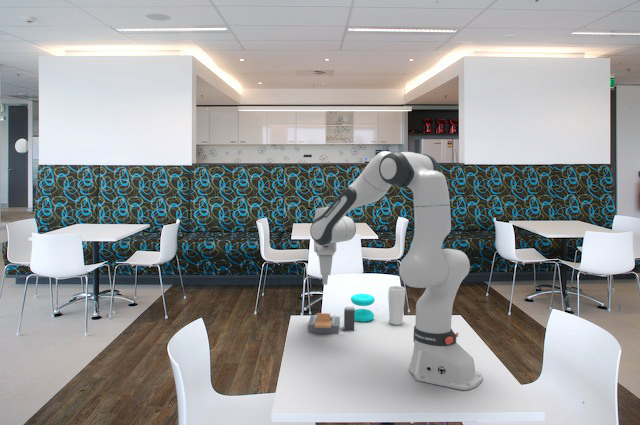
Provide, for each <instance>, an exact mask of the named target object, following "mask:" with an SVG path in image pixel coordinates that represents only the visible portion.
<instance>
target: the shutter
mask: <svg viewBox="0 0 640 425" xmlns="http://www.w3.org/2000/svg"><path fill="white" fill-rule="evenodd" d="M316 314H317V320H316V322H315V328H331V324H332V321H330V316H331V313H323V312H317V313H316Z"/></svg>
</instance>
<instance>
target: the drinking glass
mask: <svg viewBox="0 0 640 425" xmlns="http://www.w3.org/2000/svg"><path fill="white" fill-rule="evenodd" d="M387 296H388V312H389V315H388V316H389V324H391V325H393V324H394V326H400V325H402V324H403V319H404V318H403V317H404V310H405V299H406V288H405V287H404V286H402V285H401V286H400V285H392V286H389V287H388V294H387Z"/></svg>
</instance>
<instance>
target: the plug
mask: <svg viewBox="0 0 640 425" xmlns="http://www.w3.org/2000/svg"><path fill="white" fill-rule="evenodd" d="M355 310H356V309H355V307H354V306H345V307H344V308H343V311H344V312H343V313H344V315H343V318H344V319H343V331H344V330H345V332H346V331H347V332H349V331H351V332H354V331H355V320H354V314H355Z"/></svg>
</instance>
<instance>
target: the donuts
mask: <svg viewBox="0 0 640 425" xmlns="http://www.w3.org/2000/svg"><path fill="white" fill-rule="evenodd" d="M375 300H376V298H375V297H374V296H373V295H371V294H368V293H356V294H352V295H351V297H350V301H351V303H352V304H354V305H355V306H359V307H367V306H368V307H369V306H371V305H373V304H374V303H375ZM374 318H375V314H374V312H373V311H372V310H369V309H366V308H357V309H355V314H354V322H355V321H356V322H362V323H365V322H366V323H367V322H370V321H373V319H374Z"/></svg>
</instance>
